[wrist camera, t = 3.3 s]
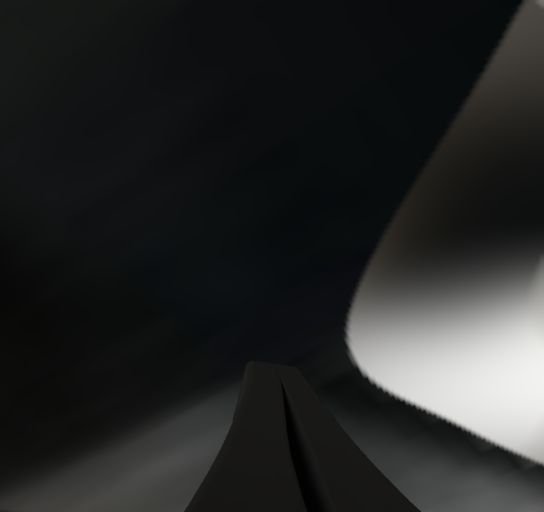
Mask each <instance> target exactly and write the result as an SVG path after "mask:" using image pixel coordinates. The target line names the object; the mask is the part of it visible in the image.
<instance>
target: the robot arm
mask: <svg viewBox="0 0 544 512" xmlns="http://www.w3.org/2000/svg"><path fill="white" fill-rule="evenodd" d="M184 512H421V511H420V510H419V509H418V508H417V507H415V506H414V505H413V504H412V503H411V502H410V501H409V500H408V499H407V498H406V497H405V496H404V495H403V494H402V493H401V492H400V491H399V490H398V489H397V488H396V487H395V486H394V485H393V484H392V483H391V482H390V481H389V480H388V479H387V478H386V477H385V476H384V475H383V474H382V473H381V472H380V471H379V470H378V469H377V468H376V466H375V465H374V464H373V463H372V462H371V461H370V460H369V459H368V458H367V457H366V455H365V454H364V453H363V452H362V451H361V450H360V448H359V447H358V446H357V445H356V444H355V443H354V442H353V440H352V439H351V438H350V437H349V436H348V434H347V433H346V432H345V431H344V430H343V428H342V427H341V426H340V425H339V423H338V422H337V421H336V420H335V418H334V417H333V416H332V414H331V413H330V412H329V410H328V409H327V408H326V407H325V405H324V404H323V403H322V401H321V400H320V398H319V397H318V396H317V394H316V393H315V392H314V390H313V389H312V388H311V386H310V385H309V383H308V382H307V381H306V379H305V378H304V376H303V375H302V374H301V372H300V371H299V370H298V368H297V367H292V366H285V365H279V364H272V363H266V362H259V361H253V360H252V361H250V362H249V363H247V365H246V369H245V373H244V377H243V381H242V385H241V389H240V393H239V397H238V401H237V405H236V409H235V413H234V417H233V423H232V425H231V428H230V430H229V432H228V434H227V437H226V439H225V441H224V443H223V445H222V447H221V449H220V451H219V453H218V455H217V457H216V459H215V461H214V462H213V464H212V466H211V468H210V470H209V471H208V473H207V475H206V477H205V478H204V480H203V482H202V483H201V485H200V487H199V488H198V490H197V492H196V493H195V495H194V497H193V498H192V500H191V502H190V503H189V505H188V506H187V508H186V509H185V511H184Z"/></svg>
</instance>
